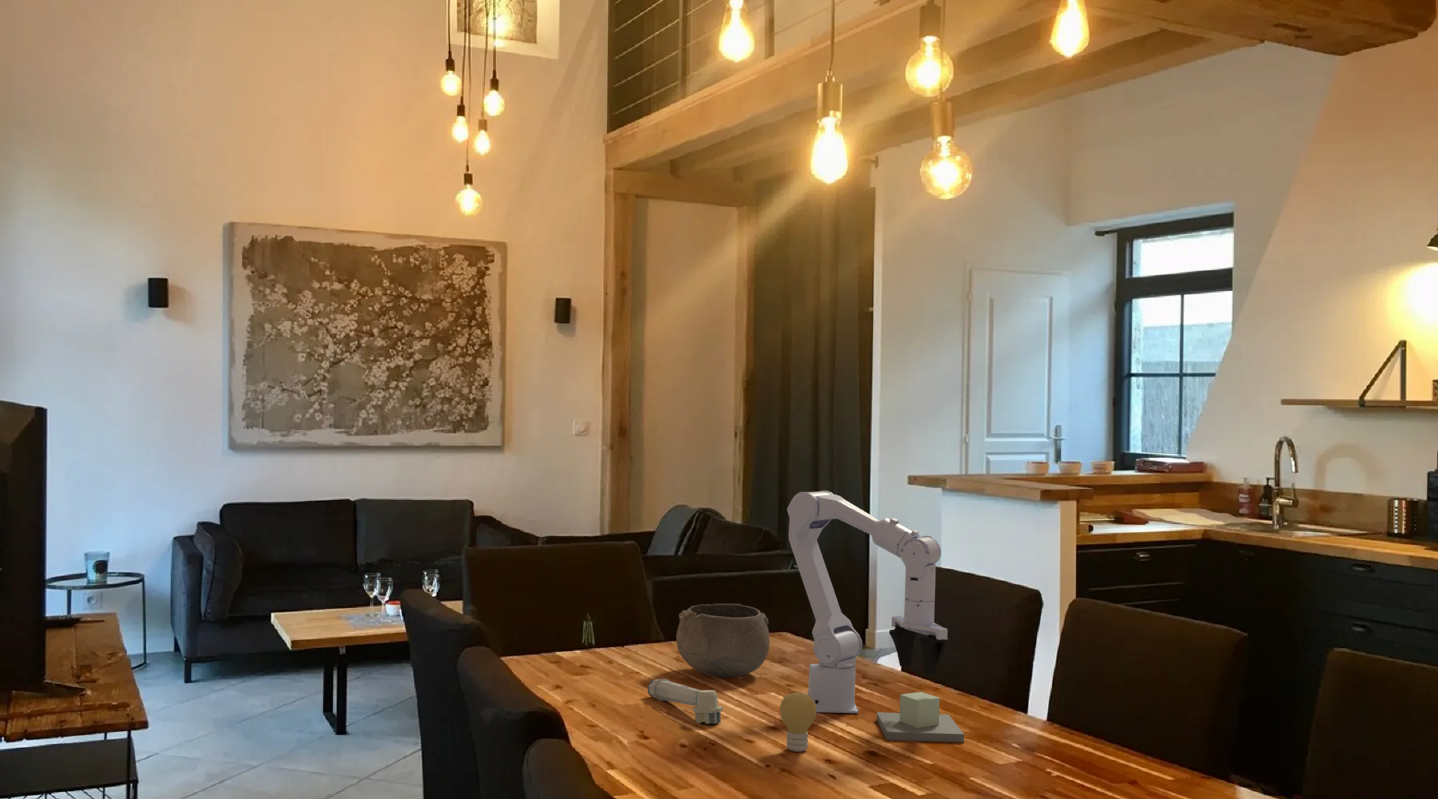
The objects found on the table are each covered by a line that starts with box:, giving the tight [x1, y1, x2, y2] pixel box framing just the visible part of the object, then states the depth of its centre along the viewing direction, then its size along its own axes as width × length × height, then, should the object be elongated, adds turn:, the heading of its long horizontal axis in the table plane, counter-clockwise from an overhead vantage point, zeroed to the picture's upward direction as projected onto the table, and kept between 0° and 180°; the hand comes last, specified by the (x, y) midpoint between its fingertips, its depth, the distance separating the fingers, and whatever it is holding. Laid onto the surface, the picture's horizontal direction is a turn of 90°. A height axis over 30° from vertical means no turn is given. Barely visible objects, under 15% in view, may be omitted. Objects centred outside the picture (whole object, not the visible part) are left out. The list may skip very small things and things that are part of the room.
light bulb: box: [779, 691, 817, 753], centre depth 201 cm, size 6×6×10 cm
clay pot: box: [676, 603, 771, 678], centre depth 259 cm, size 21×21×15 cm
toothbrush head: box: [647, 678, 723, 725], centre depth 227 cm, size 5×7×25 cm
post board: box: [876, 711, 965, 743], centre depth 216 cm, size 14×14×5 cm
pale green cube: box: [899, 691, 941, 728], centre depth 216 cm, size 5×5×5 cm
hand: (917, 670), depth 221 cm, fingers open, 7 cm apart
